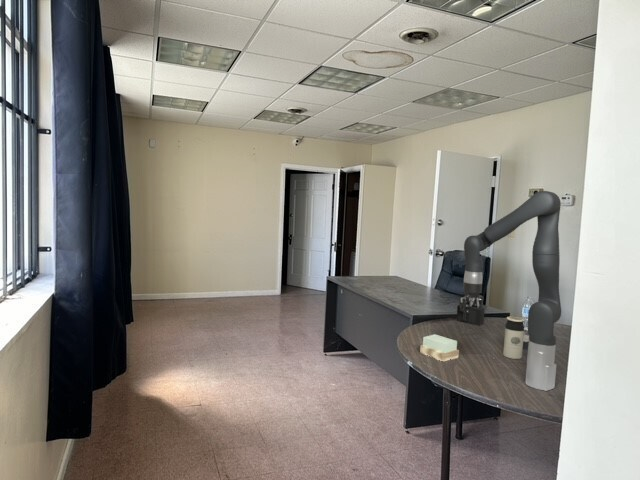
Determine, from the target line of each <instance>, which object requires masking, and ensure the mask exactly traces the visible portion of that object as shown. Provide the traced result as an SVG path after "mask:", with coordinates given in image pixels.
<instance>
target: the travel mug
mask: <svg viewBox="0 0 640 480" xmlns="http://www.w3.org/2000/svg"><path fill="white" fill-rule="evenodd" d="M506 320H507V321H506V323H505V326H504V327H505V328H504V341H503V352H502V353H503V354H502V355H503V356H504V357H505V358H508V359H511V360H513V359H514V360H520V359H522V358H523V350H524V348H523V338H524V335H525V326H524V322H525V319H524V318H521V317H517V316H507V317H506Z"/></svg>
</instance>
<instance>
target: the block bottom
mask: <svg viewBox="0 0 640 480" xmlns="http://www.w3.org/2000/svg"><path fill="white" fill-rule="evenodd" d="M419 349H420V350H419V353H420V354H423V355H425V356H427V355H428V356H427V357H429V356H430V358H432V357H433V358H432V359H434V358H435V359H434V360H437V361H439V360H440V361H439V362H441V361H443V362H446V361H451V360H456V359H458V358H459V354H460V350H459V349H457V350H454V351H451V352H448V353H443V352H440V351H437V350H434V349H431V348H428V347H425V346H423V344H420V348H419ZM450 359H451V360H450Z"/></svg>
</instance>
